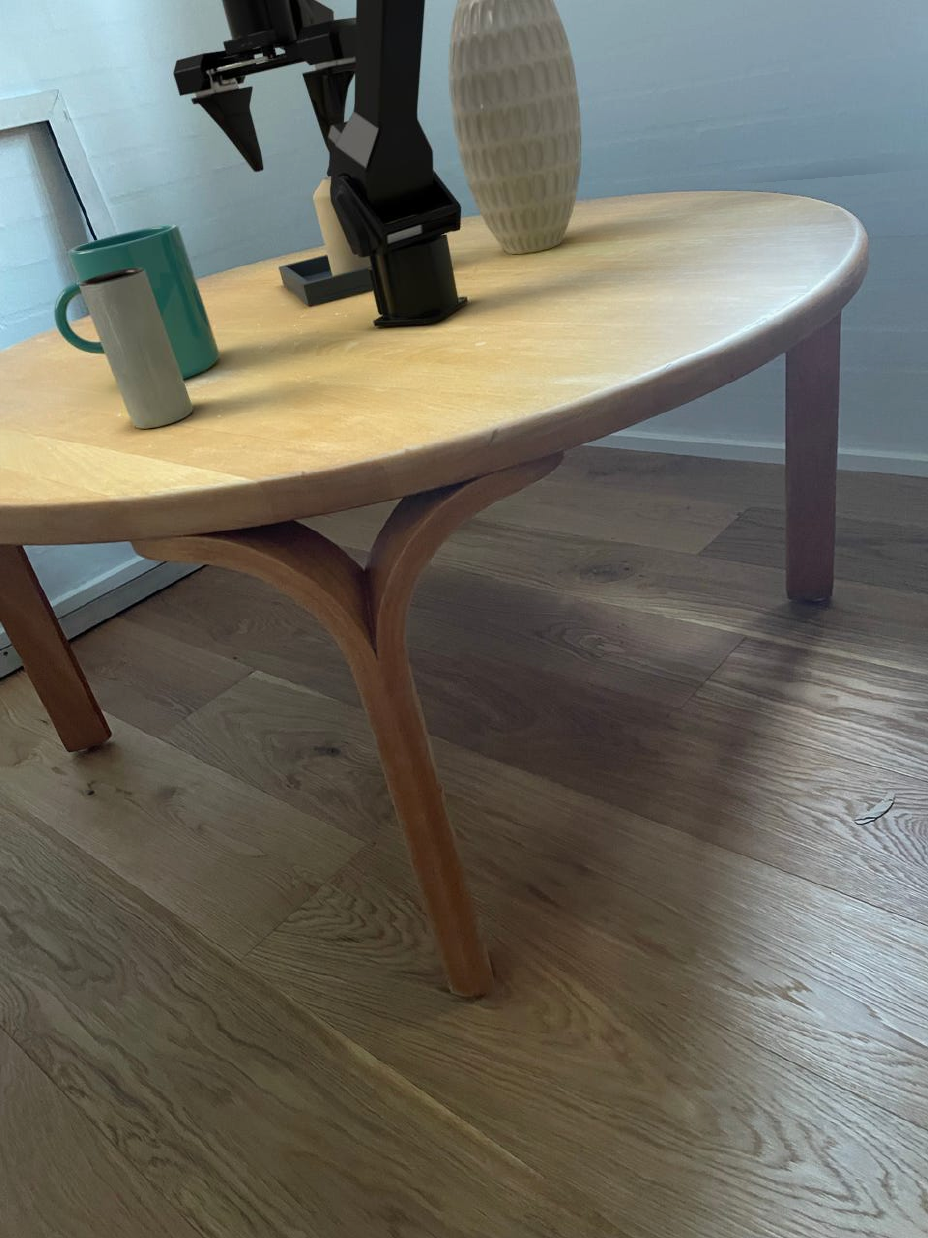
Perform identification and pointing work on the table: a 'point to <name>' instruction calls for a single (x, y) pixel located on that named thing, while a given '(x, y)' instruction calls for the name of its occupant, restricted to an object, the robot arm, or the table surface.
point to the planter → (137, 347)
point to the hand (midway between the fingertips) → (297, 164)
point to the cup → (169, 284)
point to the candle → (335, 234)
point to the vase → (516, 118)
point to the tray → (322, 281)
